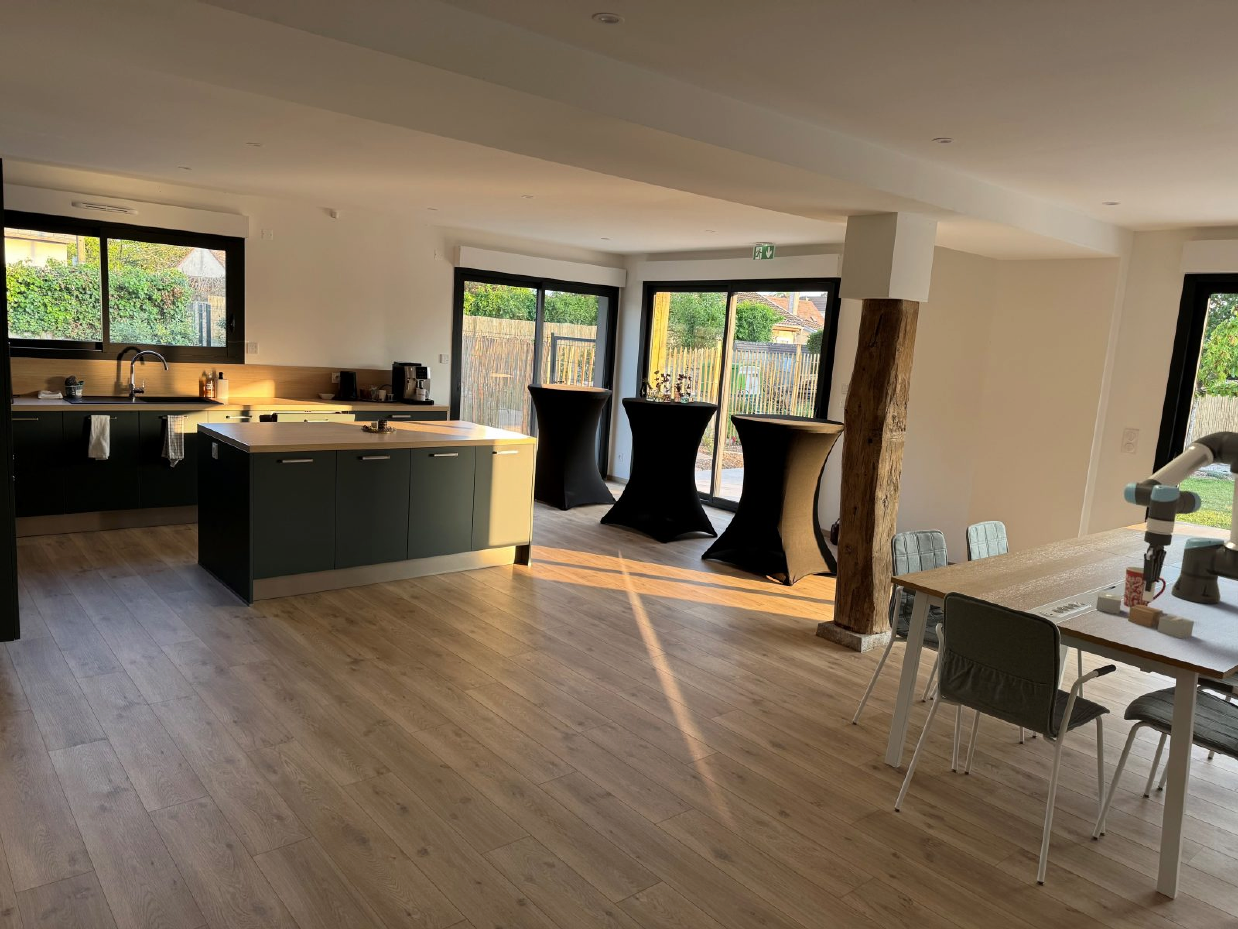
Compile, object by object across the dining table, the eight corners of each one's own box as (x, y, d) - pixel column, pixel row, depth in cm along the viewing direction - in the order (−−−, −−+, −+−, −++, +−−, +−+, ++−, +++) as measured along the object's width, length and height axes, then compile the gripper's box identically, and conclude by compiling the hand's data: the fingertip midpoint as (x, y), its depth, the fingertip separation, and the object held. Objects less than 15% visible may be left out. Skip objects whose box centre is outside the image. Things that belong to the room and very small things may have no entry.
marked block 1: (1096, 605, 296) (1099, 591, 295) (1119, 609, 292) (1121, 595, 291) (1095, 610, 290) (1098, 596, 289) (1119, 614, 286) (1121, 600, 285)
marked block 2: (1167, 629, 273) (1170, 614, 273) (1191, 636, 268) (1194, 620, 267) (1157, 632, 270) (1160, 616, 269) (1181, 639, 264) (1183, 623, 263)
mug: (1119, 606, 296) (1125, 569, 294) (1121, 600, 303) (1126, 564, 301) (1161, 614, 289) (1167, 577, 287) (1161, 608, 296) (1167, 572, 294)
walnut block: (1138, 618, 283) (1140, 604, 282) (1160, 625, 277) (1162, 610, 277) (1127, 621, 279) (1130, 607, 279) (1150, 628, 274) (1152, 613, 273)
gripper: (1154, 527, 280) (1142, 594, 284) (1138, 531, 272) (1127, 600, 276) (1179, 532, 275) (1167, 601, 278) (1164, 536, 267) (1152, 606, 270)
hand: (1147, 600), depth 277 cm, fingers closed
